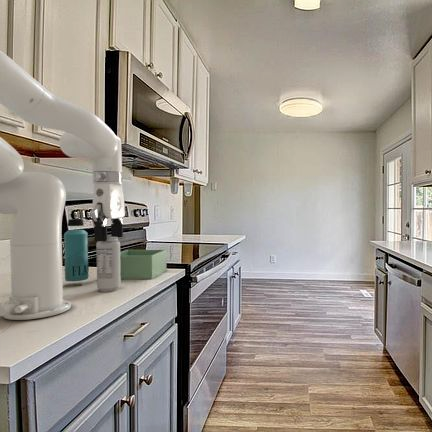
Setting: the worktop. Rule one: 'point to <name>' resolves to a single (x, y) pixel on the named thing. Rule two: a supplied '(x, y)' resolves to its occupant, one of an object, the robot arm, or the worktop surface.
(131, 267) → the green storage box
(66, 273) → the beverage bottle
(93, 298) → the worktop surface
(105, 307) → the worktop surface
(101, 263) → the energy drink can
